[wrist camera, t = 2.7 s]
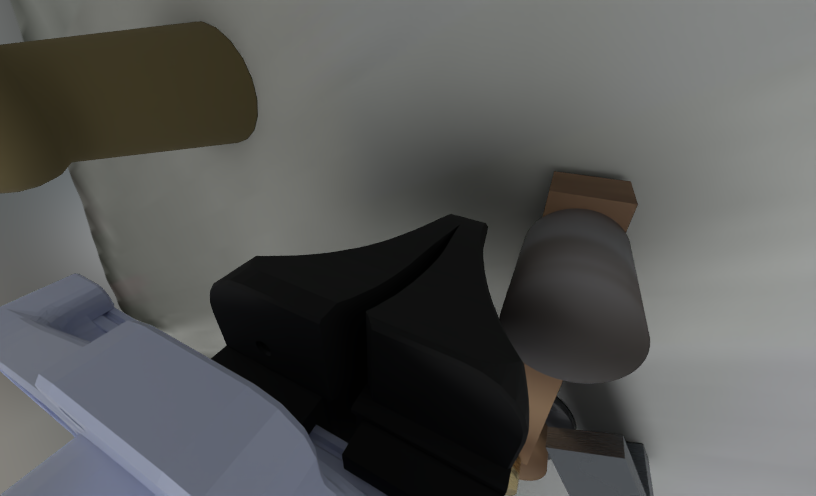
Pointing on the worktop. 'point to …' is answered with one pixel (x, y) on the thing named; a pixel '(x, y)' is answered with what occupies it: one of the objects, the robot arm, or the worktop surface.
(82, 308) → the robot arm
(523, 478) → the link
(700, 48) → the worktop surface
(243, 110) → the cork
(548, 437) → the keeper
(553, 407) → the pintle base
